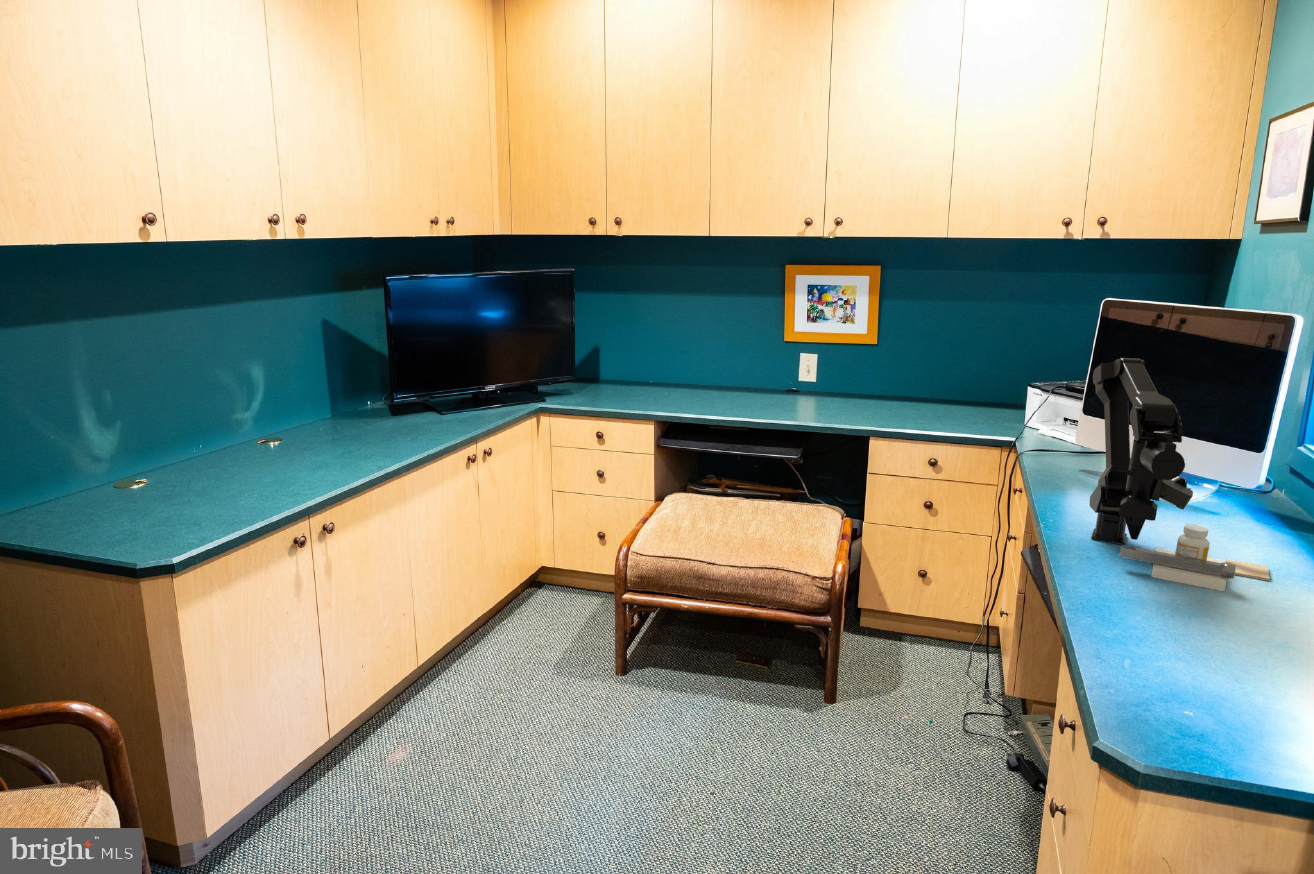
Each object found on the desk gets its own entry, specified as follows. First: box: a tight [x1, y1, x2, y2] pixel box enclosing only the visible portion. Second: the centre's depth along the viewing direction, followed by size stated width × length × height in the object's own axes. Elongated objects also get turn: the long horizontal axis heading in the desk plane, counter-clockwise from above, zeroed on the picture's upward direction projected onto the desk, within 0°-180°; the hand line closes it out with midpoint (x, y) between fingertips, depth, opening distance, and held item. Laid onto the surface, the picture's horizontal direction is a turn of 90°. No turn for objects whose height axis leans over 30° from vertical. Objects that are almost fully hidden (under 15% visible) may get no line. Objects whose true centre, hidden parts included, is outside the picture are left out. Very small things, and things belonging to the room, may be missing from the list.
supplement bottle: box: [1175, 523, 1211, 560], centre depth 169 cm, size 5×5×10 cm
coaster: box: [1225, 558, 1271, 582], centre depth 172 cm, size 7×7×1 cm
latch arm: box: [1119, 544, 1236, 579], centre depth 168 cm, size 19×2×2 cm, turn 59°
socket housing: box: [1151, 547, 1227, 592], centre depth 170 cm, size 12×12×2 cm
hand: (1134, 539), depth 174 cm, fingers closed
